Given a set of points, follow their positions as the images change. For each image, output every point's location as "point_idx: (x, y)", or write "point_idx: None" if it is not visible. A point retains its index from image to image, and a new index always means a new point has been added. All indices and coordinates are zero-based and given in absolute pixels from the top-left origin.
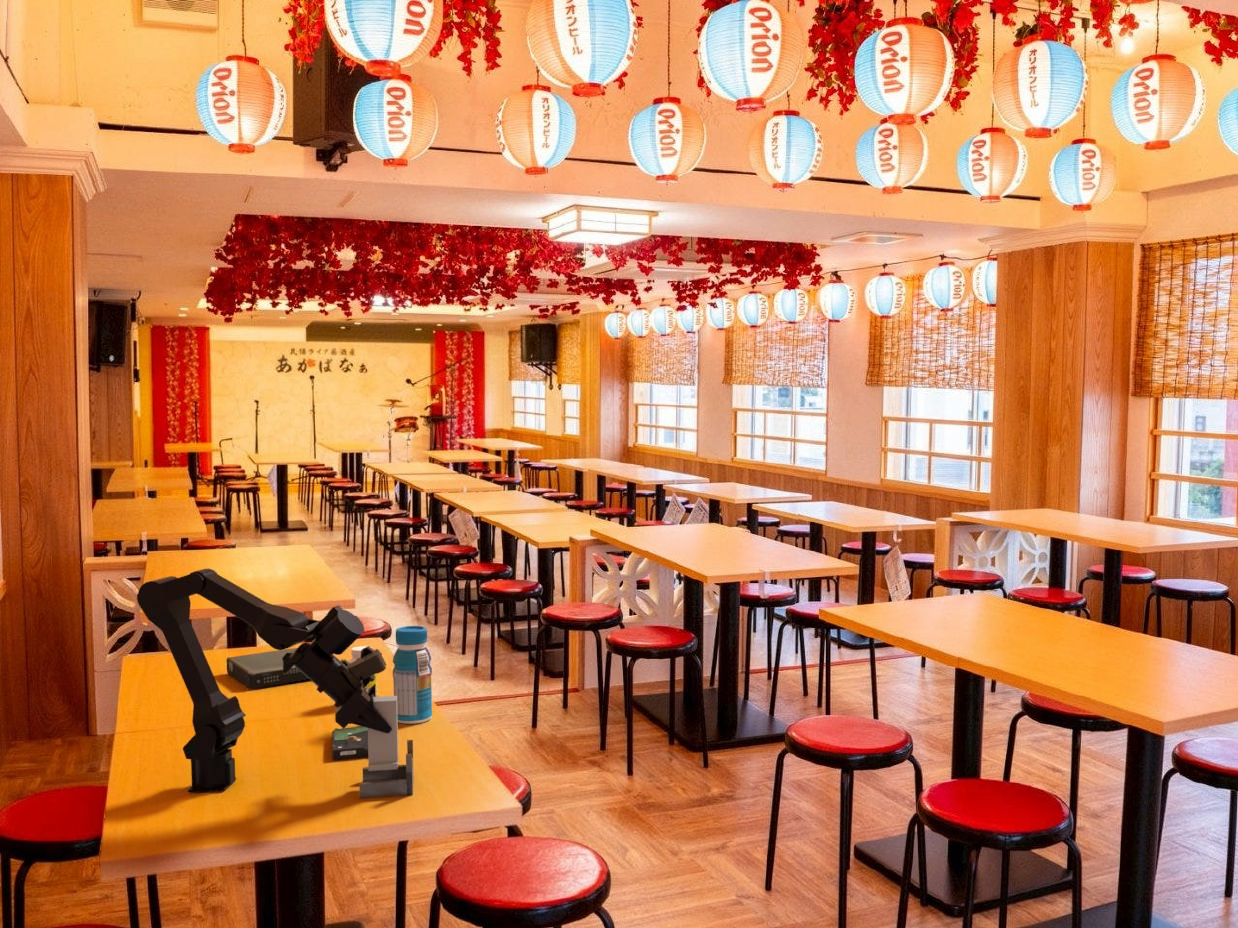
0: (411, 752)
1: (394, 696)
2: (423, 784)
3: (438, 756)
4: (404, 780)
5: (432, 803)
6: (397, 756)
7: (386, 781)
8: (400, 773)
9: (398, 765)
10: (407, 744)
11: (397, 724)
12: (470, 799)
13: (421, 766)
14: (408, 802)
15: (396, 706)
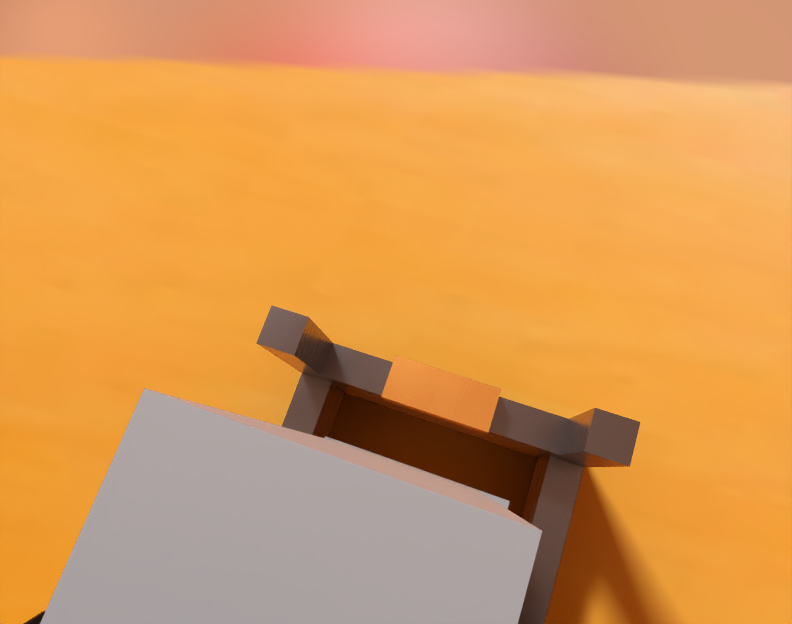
0: (324, 345)
1: (169, 458)
2: (451, 345)
3: (117, 174)
4: (567, 474)
5: (744, 387)
6: (469, 487)
7: (534, 581)
8: (324, 425)
9: (290, 426)
10: (298, 357)
11: (326, 440)
12: (761, 214)
13: (199, 279)
14: (677, 492)
15: (520, 518)
